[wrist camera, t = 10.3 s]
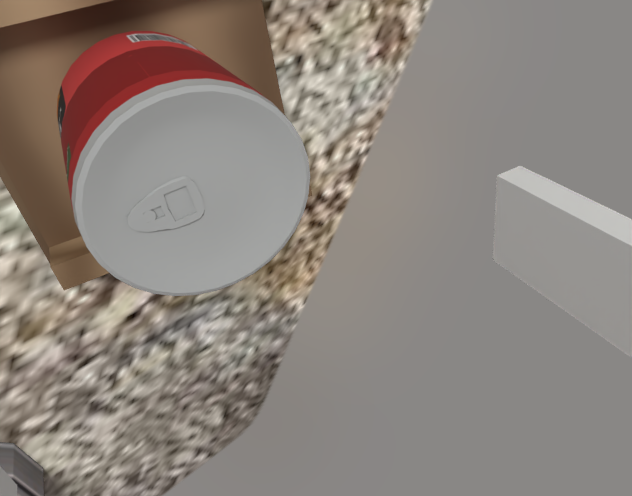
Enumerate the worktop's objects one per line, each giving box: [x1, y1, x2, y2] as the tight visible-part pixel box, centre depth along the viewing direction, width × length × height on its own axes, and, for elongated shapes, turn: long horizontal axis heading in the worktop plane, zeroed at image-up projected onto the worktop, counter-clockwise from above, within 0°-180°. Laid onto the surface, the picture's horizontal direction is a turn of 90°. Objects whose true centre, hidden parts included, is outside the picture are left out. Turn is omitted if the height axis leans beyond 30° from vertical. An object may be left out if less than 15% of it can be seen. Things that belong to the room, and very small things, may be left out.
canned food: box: [57, 31, 310, 296], centre depth 22 cm, size 8×8×11 cm
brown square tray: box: [0, 0, 312, 290], centre depth 27 cm, size 16×16×6 cm
